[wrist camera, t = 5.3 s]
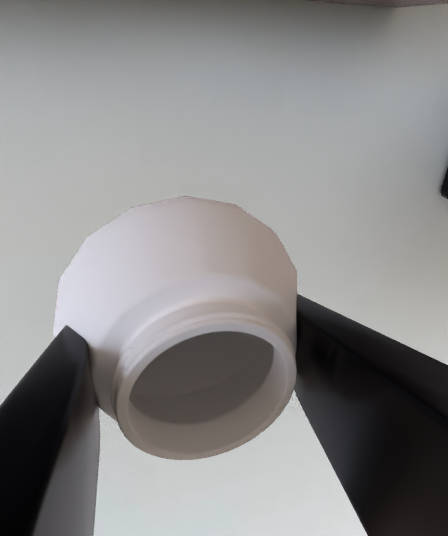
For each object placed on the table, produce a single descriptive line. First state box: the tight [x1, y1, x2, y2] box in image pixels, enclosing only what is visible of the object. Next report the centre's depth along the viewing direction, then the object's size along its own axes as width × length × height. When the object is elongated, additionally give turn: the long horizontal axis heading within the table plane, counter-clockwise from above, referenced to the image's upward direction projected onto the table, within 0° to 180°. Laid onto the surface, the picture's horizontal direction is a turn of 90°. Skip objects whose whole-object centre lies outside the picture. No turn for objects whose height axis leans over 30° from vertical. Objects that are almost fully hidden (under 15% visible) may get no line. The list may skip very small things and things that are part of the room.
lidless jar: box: [53, 196, 297, 460], centre depth 8 cm, size 5×3×5 cm
